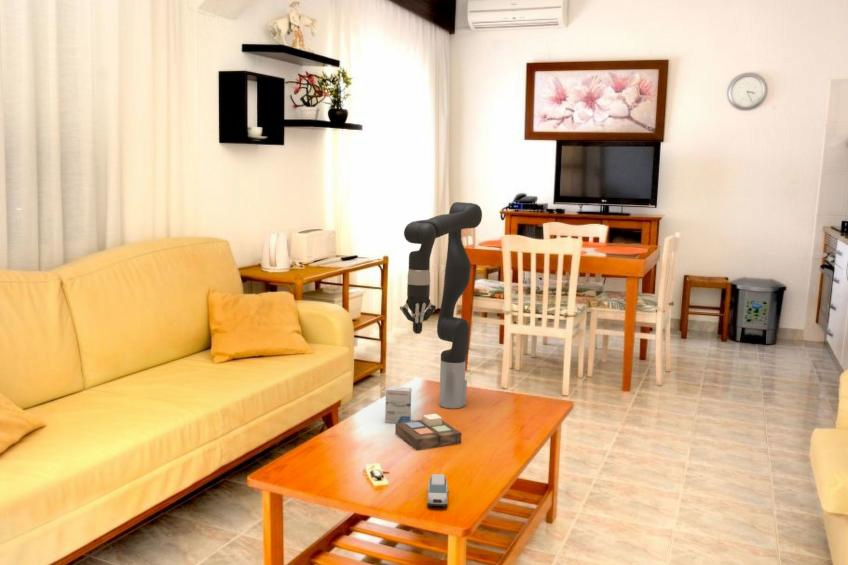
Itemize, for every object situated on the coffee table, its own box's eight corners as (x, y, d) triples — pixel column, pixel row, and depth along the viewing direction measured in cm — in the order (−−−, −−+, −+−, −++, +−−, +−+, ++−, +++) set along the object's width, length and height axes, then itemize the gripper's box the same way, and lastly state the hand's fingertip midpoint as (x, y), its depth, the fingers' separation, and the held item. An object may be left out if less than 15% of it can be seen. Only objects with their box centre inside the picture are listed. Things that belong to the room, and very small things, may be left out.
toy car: (425, 510, 195) (426, 491, 194) (427, 489, 207) (427, 472, 207) (448, 511, 195) (448, 492, 194) (448, 490, 207) (448, 472, 207)
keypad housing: (438, 427, 256) (438, 417, 256) (461, 443, 242) (461, 432, 242) (395, 433, 249) (395, 423, 249) (416, 450, 235) (416, 439, 235)
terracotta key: (426, 435, 244) (426, 427, 244) (433, 439, 240) (433, 432, 240) (413, 436, 242) (414, 429, 242) (420, 441, 238) (420, 434, 238)
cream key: (435, 420, 253) (435, 413, 252) (441, 425, 249) (441, 417, 248) (423, 422, 251) (423, 415, 250) (429, 426, 246) (429, 419, 246)
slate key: (418, 428, 250) (418, 421, 250) (424, 433, 246) (424, 425, 246) (405, 430, 248) (405, 423, 248) (411, 435, 244) (411, 427, 244)
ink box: (411, 419, 264) (411, 387, 262) (409, 424, 259) (410, 391, 257) (386, 418, 265) (387, 385, 263) (384, 422, 260) (385, 389, 258)
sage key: (444, 432, 247) (444, 425, 247) (450, 437, 243) (451, 429, 243) (431, 434, 245) (431, 427, 245) (438, 439, 241) (438, 431, 241)
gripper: (431, 280, 258) (429, 329, 261) (396, 281, 252) (394, 332, 255) (441, 283, 251) (439, 334, 254) (405, 285, 245) (404, 337, 248)
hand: (417, 333), depth 254 cm, fingers closed
